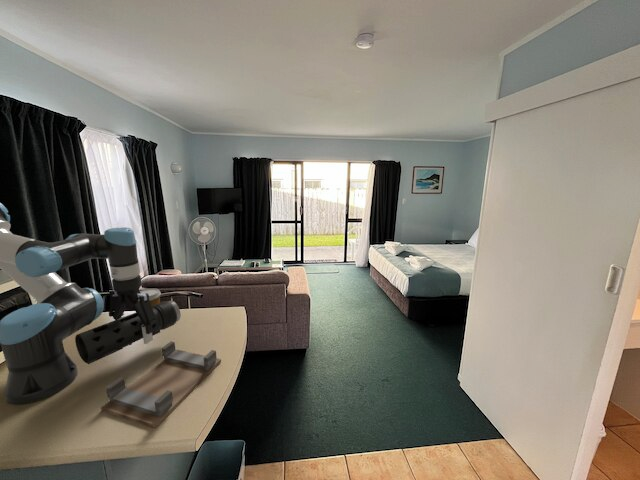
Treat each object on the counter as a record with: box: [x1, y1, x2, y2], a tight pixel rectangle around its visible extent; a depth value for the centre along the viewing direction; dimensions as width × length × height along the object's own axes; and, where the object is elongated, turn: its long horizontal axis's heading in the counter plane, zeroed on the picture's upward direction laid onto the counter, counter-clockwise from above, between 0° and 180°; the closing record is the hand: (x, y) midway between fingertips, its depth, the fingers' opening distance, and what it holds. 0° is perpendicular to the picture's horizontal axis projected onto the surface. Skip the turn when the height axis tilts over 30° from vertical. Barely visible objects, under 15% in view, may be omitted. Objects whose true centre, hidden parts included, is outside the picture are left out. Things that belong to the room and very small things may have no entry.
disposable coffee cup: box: [136, 288, 162, 306], centre depth 119 cm, size 10×10×12 cm
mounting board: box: [100, 341, 222, 429], centre depth 82 cm, size 18×26×6 cm
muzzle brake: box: [74, 300, 181, 365], centre depth 92 cm, size 10×28×10 cm, turn 148°
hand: (135, 338), depth 93 cm, fingers closed on muzzle brake, 10 cm apart
